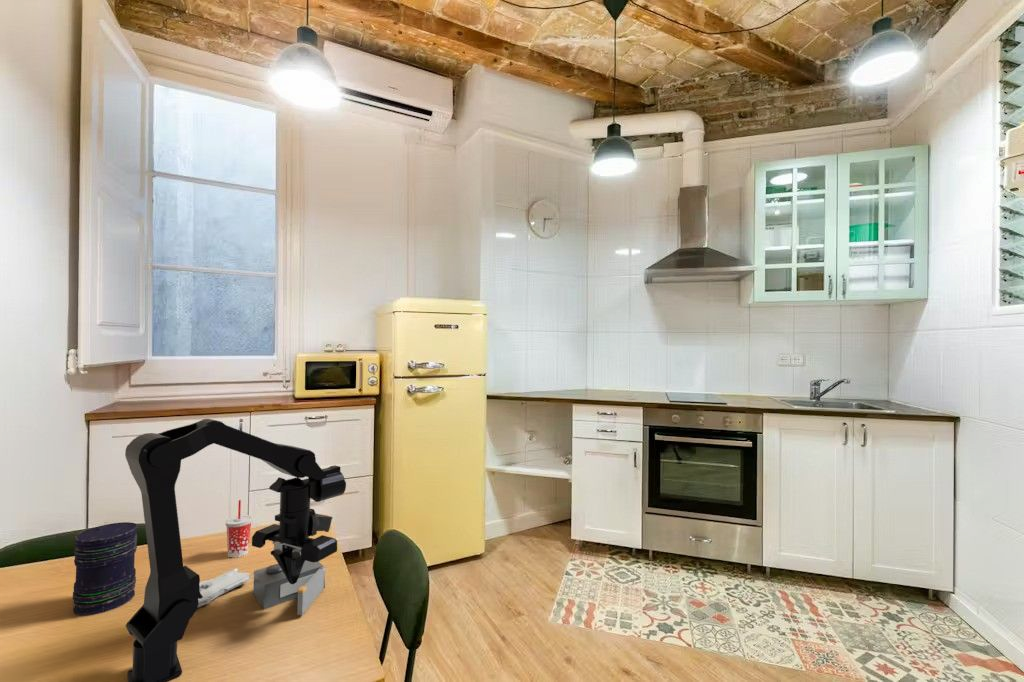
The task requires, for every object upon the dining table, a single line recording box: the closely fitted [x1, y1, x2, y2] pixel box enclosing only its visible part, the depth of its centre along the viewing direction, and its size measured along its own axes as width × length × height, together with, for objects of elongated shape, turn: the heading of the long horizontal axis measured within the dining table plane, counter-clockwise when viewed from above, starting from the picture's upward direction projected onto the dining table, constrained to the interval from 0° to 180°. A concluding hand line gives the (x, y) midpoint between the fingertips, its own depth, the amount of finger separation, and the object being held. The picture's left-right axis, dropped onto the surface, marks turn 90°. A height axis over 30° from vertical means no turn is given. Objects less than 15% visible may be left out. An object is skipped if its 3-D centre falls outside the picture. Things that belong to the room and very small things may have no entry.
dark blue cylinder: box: [72, 521, 138, 617], centre depth 93 cm, size 10×10×15 cm
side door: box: [296, 565, 326, 616], centre depth 94 cm, size 1×11×5 cm, turn 0°
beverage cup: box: [224, 499, 254, 558], centre depth 116 cm, size 6×6×14 cm
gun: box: [198, 568, 252, 609], centre depth 95 cm, size 18×4×10 cm
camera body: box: [253, 560, 324, 610], centre depth 98 cm, size 8×12×6 cm
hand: (293, 583), depth 92 cm, fingers closed
